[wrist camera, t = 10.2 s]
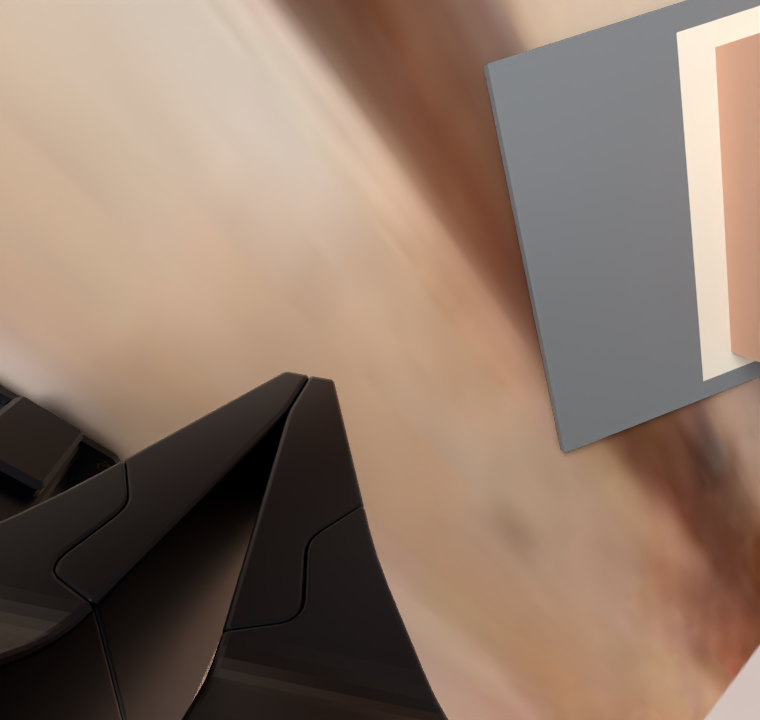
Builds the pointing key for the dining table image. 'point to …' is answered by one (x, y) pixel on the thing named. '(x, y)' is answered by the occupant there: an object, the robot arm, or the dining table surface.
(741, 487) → the dining table surface
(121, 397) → the dining table surface
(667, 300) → the mat
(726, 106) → the t block
